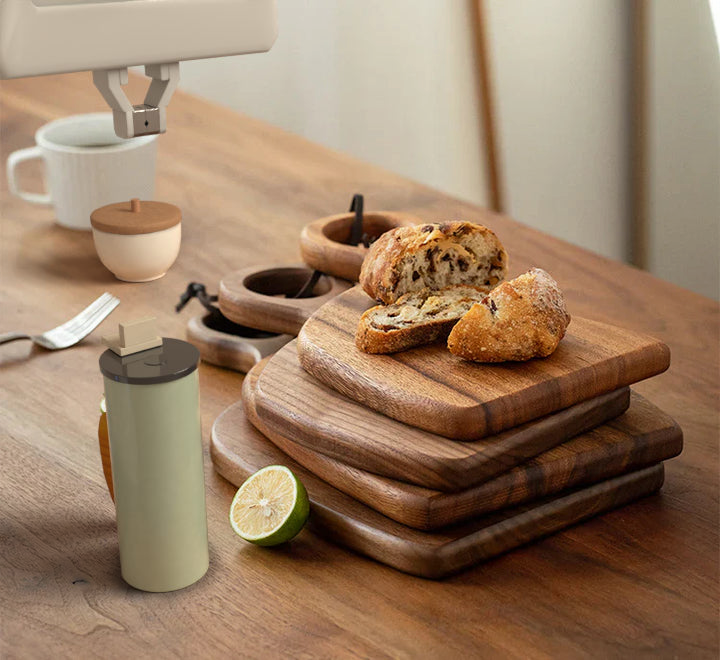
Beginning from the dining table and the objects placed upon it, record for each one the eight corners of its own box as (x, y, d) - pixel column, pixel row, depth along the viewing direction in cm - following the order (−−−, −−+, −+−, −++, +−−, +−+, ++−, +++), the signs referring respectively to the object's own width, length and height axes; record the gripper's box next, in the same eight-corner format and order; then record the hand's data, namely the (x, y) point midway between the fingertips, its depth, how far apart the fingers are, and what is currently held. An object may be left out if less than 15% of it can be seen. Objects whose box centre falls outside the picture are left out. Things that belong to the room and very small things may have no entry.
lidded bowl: (166, 292, 148) (161, 214, 144) (80, 285, 150) (73, 208, 146) (197, 262, 159) (193, 190, 155) (117, 256, 162) (111, 185, 157)
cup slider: (120, 356, 82) (118, 327, 81) (101, 343, 84) (98, 315, 83) (162, 345, 84) (160, 316, 83) (142, 332, 86) (140, 304, 85)
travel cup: (147, 606, 84) (128, 386, 77) (102, 561, 90) (81, 352, 82) (229, 570, 89) (219, 359, 81) (181, 530, 94) (168, 328, 87)
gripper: (240, -96, 73) (247, 108, 78) (-62, -94, 61) (-30, 147, 66) (295, -94, 69) (298, 123, 74) (-20, -91, 57) (11, 167, 62)
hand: (140, 135), depth 70 cm, fingers closed
